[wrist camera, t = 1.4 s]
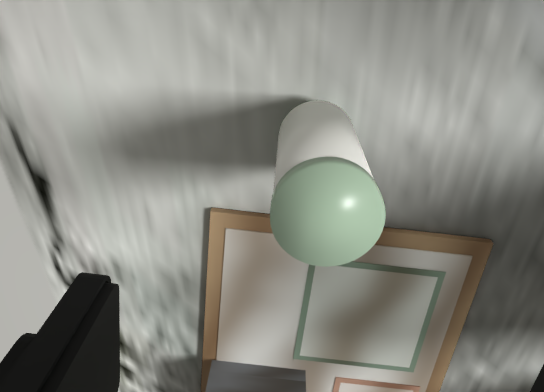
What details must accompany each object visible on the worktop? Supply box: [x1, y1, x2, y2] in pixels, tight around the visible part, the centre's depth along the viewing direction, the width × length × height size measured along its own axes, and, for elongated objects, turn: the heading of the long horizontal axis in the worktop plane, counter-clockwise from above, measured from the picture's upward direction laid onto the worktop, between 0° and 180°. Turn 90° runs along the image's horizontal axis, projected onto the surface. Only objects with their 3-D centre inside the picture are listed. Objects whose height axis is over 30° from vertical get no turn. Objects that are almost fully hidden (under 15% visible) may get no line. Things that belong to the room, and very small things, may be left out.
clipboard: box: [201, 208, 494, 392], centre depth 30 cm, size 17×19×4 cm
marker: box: [270, 100, 386, 267], centre depth 21 cm, size 4×4×10 cm
